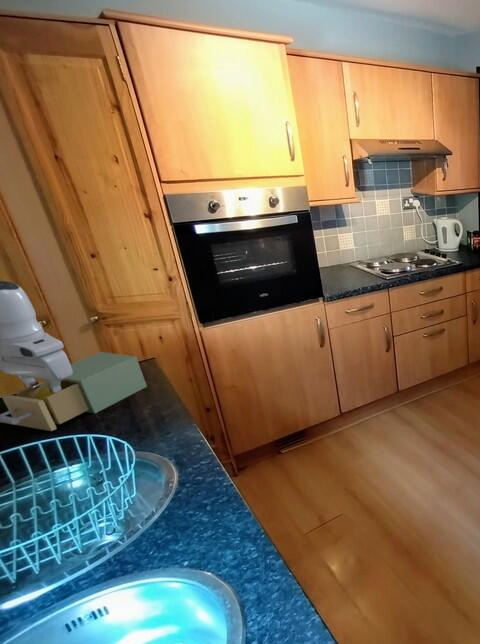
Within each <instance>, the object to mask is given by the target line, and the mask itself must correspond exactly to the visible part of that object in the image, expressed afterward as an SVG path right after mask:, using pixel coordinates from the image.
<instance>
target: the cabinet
mask: <svg viewBox="0 0 480 644" xmlns="http://www.w3.org/2000/svg"><path fill="white" fill-rule="evenodd" d="M70 365H71V368H72V371H73V373H72V376H71V377H69V378H66V379H64V380H63V381H70V382H77V383H80V385H81V387H82V390H83V392H84V394H85V396H86V399H87V401H88V403H89V406H90V408H91V409H89V410H87V411H85V412H84V413H89V414H97V413H99V412H101V411H103V410H105V409H106V408H108V407H111V406H112V405H115V404H117V403H119V402H120V401H122V400H124V399H126V398H128V397H130V396H132V395H134V394H136V393H137V392H139V391H141V390H143V389H145V388H147V387H148V384H147V383H146V380H145V377H144V374H143V371H142V368H141V366H140V363H139V361H138V358H137V356H136V355H129V354H128V355H127V354H120V353H111V352H103V351H99V352H97V353H94V354H93V355H90V356H87V357H85V358H83V359H80V360H77V361H75V362H73V363H70ZM44 381H46V380H44Z"/></svg>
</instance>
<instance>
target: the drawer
mask: <svg viewBox="0 0 480 644" xmlns="http://www.w3.org/2000/svg"><path fill="white" fill-rule="evenodd" d="M38 383H39V385H40V387H39V388H37V389H35V390H32V389H28V387H26V388H24V389H22V390H20V391H16V392H15V394H16V395H14V394H5V395H2V396H1V398H2V400H3V402H4V404H5V406H6V408H7V411H6V412H3V413H0V423H1V424H3V423H4V424H8V425H14V426H15V425H16V426H20V427H26V428H32V429H37V430H43V431H49V432H53V431H55V430H57V425H61V424H64V423H65V422H68V421H70V420H72V419H73V418H75V417H78V416H80V415H82V414H83V413H86V412H85V411H87V410H89V409H91V408H90V406H89V403H88V401H87V399H86V396H85V394H84V392H83V390H82V387H81V385H80V383H77V382H70V381H63V380H62V381H61V383H60V386H61V389H62V390H61V391H59V392H56V393H54V394H52V395H50V396H47V397H45V399H46V401H47V403H48V405H49V407H50V409H51V411H52V412H51V413H49V411H48V409H47V407H46V405H45V403H44V401H43V400H39V399H36V394H37V393H38V392H39V391H40V390H42V389H43V388H44V387H47V388H48V387H50V383H48V381H47V380H46V381H45V380H43V381H40V382H38ZM8 415H11V416H8Z"/></svg>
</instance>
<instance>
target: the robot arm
mask: <svg viewBox="0 0 480 644" xmlns="http://www.w3.org/2000/svg"><path fill="white" fill-rule="evenodd" d="M64 347H65V345H64V343H63V342H62V341H61V340H60V339H57V338H56V337H54V336H51V335H50V334H49V333H47V332H45V330H44V328H43V326H42V325H41V324H40V323H39V322H38V320H37V313H36V310H35V308H34V306H33V304H32V302H31V300H30V297H28V295H27V293H26V292H25V290H23V288H22V287H21V286H20V285H18V284H17V283H14V282H11V281H4V280H0V370H1V372H3V374H6V375H13V376H18V378H19V380H20V381H22V382H23V383H24V384H25V386H26V388H28V389H32V390H35V389H37V388H39V387H40V385H39V383H40V382H38V381H37V380H35V379H39V380H43V381H45V380H47V381H48V383H50V387H48V388H49V390H50V392H51V393H56V392H59V391H61V390H62V389H61V386H60V383H61V381H62V380H64V379H66V378H69V377H71V376H72V373H73V371H72V368H71V365H70V364H71V363H70V360H69V357H68V356H67V353H66V352H65V351H64V350H63V349H64Z"/></svg>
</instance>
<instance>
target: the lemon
mask: <svg viewBox="0 0 480 644" xmlns="http://www.w3.org/2000/svg"><path fill="white" fill-rule="evenodd" d="M52 394H54V393H51V392H50V390H49V388H47V387H44V388H43V389H42V390H40V391H39V392H38V393H37V394H36V399H39V400H43V401H44V403H45V405H46V407H47V409H48V411H49V413H51V412H52V411H51V409H50V407H49V405H48V403H47V401H46V399H45V397H47V396H50V395H52Z"/></svg>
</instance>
